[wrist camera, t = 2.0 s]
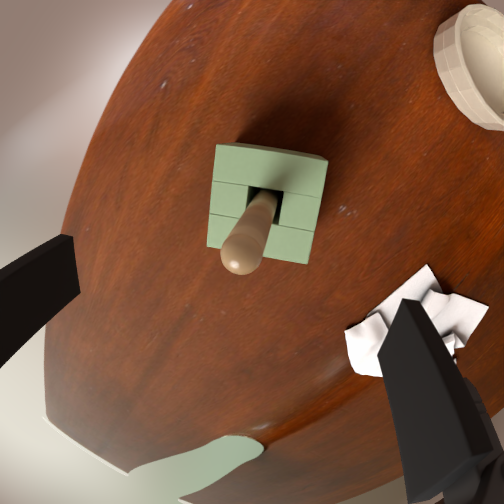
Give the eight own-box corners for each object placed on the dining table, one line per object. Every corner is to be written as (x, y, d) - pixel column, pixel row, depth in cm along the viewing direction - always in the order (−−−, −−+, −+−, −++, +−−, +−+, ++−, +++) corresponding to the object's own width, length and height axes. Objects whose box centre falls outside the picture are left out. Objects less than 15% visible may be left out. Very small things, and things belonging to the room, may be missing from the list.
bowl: (429, 1, 17) (450, -18, 12) (516, 51, 16) (542, 45, 11) (426, 104, 23) (453, 99, 18) (514, 146, 22) (543, 152, 16)
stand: (234, 142, 28) (216, 143, 22) (320, 155, 27) (328, 161, 21) (224, 223, 32) (206, 246, 25) (305, 237, 31) (307, 264, 24)
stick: (262, 179, 29) (217, 237, 13) (282, 182, 29) (262, 245, 12) (260, 197, 30) (214, 277, 13) (279, 200, 30) (256, 285, 13)
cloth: (321, 331, 35) (322, 343, 33) (464, 234, 27) (474, 241, 25) (383, 404, 39) (386, 415, 37) (494, 334, 32) (501, 343, 29)
